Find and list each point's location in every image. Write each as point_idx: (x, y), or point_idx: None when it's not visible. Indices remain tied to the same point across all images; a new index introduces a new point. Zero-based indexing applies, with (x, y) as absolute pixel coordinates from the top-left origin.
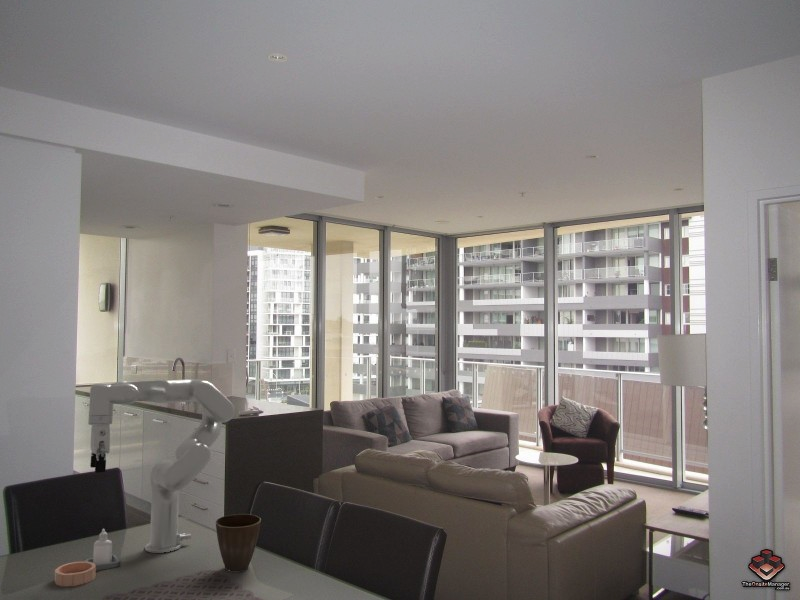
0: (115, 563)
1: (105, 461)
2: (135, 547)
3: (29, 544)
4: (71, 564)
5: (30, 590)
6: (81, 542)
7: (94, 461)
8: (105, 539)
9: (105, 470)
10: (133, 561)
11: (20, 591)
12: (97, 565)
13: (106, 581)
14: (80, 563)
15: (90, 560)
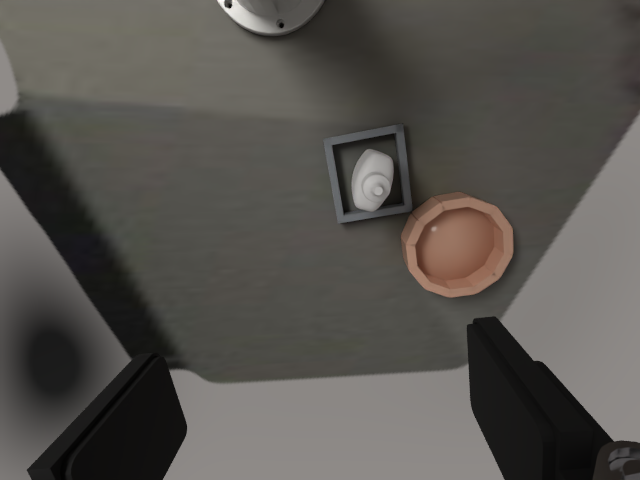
0: (404, 137)
1: (574, 417)
2: (235, 70)
3: (129, 346)
4: (416, 259)
5: None
6: (141, 230)
7: (144, 460)
8: (386, 177)
9: (498, 321)
10: (374, 81)
11: None
12: (407, 189)
13: (511, 163)
14: (417, 237)
15: (342, 207)
